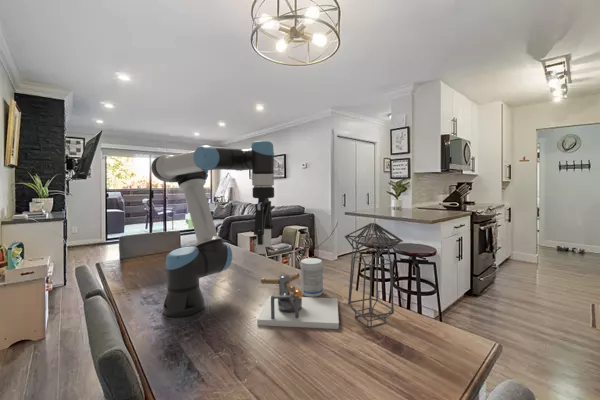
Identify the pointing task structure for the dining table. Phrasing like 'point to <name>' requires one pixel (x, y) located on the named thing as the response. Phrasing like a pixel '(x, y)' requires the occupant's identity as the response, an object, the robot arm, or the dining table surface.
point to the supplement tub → (311, 277)
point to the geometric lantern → (375, 229)
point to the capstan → (286, 287)
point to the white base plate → (301, 313)
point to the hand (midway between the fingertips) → (264, 249)
